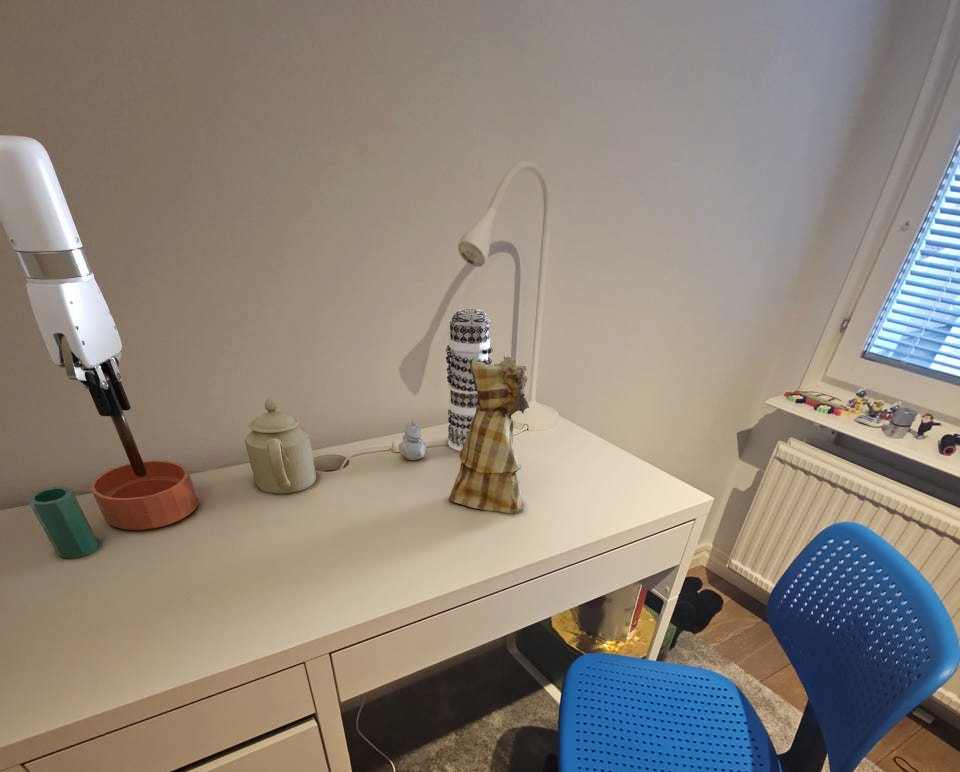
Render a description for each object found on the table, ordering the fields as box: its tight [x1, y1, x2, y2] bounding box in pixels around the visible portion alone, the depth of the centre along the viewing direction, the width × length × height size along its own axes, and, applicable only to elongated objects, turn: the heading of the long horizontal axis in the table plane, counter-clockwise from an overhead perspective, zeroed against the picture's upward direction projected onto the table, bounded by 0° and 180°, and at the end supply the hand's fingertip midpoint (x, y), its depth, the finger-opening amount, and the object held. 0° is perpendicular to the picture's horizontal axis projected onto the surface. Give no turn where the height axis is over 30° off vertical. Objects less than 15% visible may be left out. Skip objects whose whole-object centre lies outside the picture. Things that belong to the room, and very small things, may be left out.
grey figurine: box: [398, 419, 427, 461], centre depth 111 cm, size 5×7×8 cm
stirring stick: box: [103, 373, 147, 477], centre depth 85 cm, size 2×2×16 cm
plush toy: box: [447, 355, 530, 514], centre depth 94 cm, size 14×14×25 cm
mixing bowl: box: [89, 459, 199, 531], centre depth 92 cm, size 14×14×6 cm
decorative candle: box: [445, 308, 494, 452], centre depth 112 cm, size 9×9×25 cm
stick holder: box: [27, 486, 99, 560], centre depth 82 cm, size 5×5×9 cm
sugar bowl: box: [244, 397, 317, 495], centre depth 98 cm, size 15×11×15 cm
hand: (115, 411), depth 83 cm, fingers closed on stirring stick, 1 cm apart
